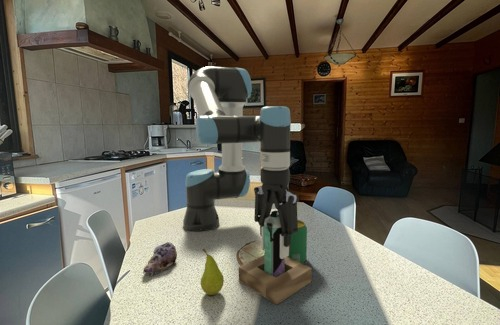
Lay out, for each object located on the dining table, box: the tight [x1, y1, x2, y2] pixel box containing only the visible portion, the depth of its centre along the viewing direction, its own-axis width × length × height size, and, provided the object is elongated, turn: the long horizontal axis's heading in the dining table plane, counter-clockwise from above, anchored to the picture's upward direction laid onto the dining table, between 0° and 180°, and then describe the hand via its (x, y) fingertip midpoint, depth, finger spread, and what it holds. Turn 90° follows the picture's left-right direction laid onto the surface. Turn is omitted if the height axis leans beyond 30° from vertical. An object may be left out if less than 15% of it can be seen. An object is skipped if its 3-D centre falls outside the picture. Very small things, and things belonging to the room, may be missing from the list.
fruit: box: [200, 248, 224, 296], centre depth 68 cm, size 6×6×12 cm
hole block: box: [237, 254, 313, 306], centre depth 74 cm, size 14×14×4 cm
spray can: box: [263, 209, 285, 278], centre depth 73 cm, size 6×6×20 cm
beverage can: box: [287, 219, 308, 264], centre depth 85 cm, size 8×8×12 cm
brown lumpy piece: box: [142, 241, 178, 277], centre depth 82 cm, size 12×8×6 cm, turn 152°
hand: (274, 252), depth 73 cm, fingers open, 6 cm apart
